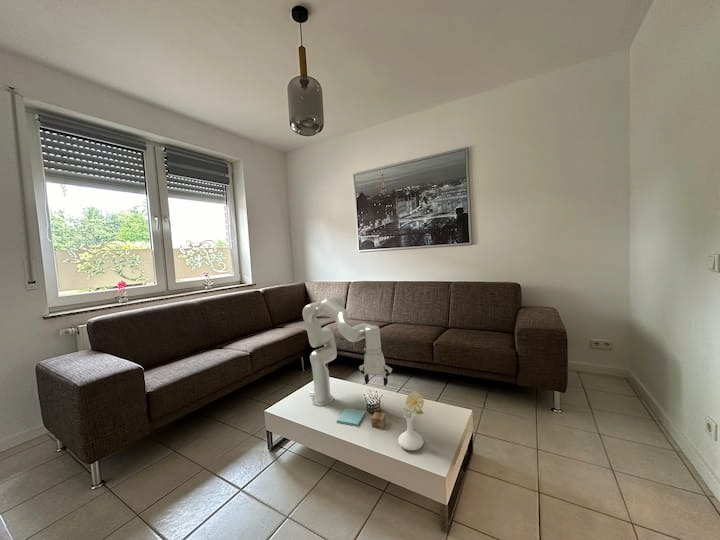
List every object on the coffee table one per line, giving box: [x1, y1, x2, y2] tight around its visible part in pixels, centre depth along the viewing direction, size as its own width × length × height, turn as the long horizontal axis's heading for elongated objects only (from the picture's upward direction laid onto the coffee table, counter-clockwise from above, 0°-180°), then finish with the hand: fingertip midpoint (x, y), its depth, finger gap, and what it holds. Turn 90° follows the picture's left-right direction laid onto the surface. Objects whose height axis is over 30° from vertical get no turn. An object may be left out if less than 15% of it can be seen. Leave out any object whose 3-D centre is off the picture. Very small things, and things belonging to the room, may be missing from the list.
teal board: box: [336, 407, 367, 427], centre depth 151 cm, size 12×12×1 cm
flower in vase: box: [397, 391, 425, 451], centre depth 127 cm, size 13×11×25 cm
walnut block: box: [371, 411, 387, 430], centre depth 144 cm, size 6×6×5 cm
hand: (376, 383), depth 143 cm, fingers open, 9 cm apart
